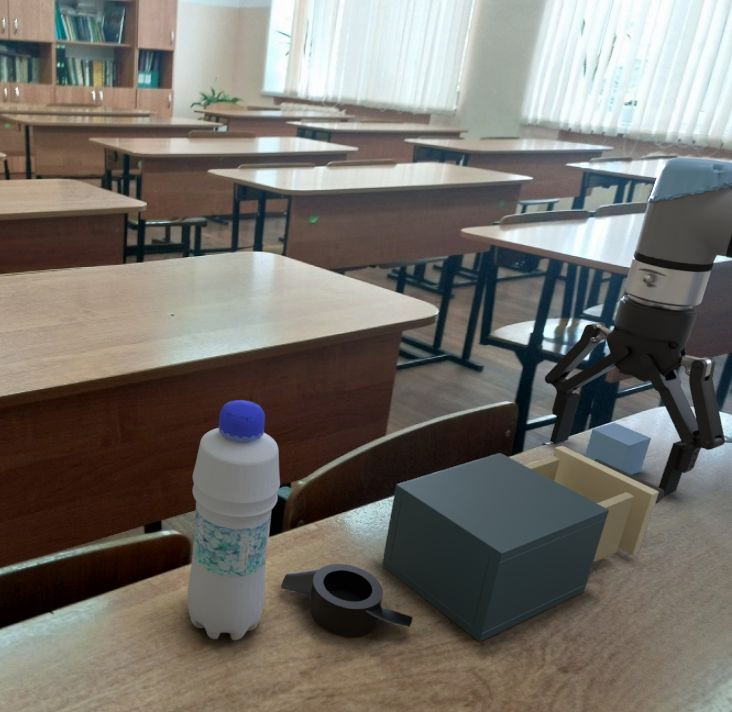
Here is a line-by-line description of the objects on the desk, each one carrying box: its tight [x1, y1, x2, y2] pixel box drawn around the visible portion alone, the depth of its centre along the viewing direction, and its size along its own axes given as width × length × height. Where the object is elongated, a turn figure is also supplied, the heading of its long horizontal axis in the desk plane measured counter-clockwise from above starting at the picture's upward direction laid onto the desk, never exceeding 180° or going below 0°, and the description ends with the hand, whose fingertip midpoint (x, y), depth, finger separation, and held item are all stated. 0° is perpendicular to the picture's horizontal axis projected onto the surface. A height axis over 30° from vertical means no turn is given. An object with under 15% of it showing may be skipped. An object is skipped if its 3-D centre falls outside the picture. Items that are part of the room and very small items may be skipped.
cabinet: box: [381, 452, 609, 643], centre depth 66 cm, size 14×11×9 cm
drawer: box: [523, 445, 664, 563], centre depth 72 cm, size 18×10×7 cm, turn 120°
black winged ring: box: [280, 563, 413, 639], centre depth 62 cm, size 8×10×3 cm
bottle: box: [187, 399, 281, 641], centre depth 57 cm, size 7×7×20 cm
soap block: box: [584, 422, 652, 475], centre depth 89 cm, size 5×5×5 cm
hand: (609, 465), depth 90 cm, fingers open, 13 cm apart
